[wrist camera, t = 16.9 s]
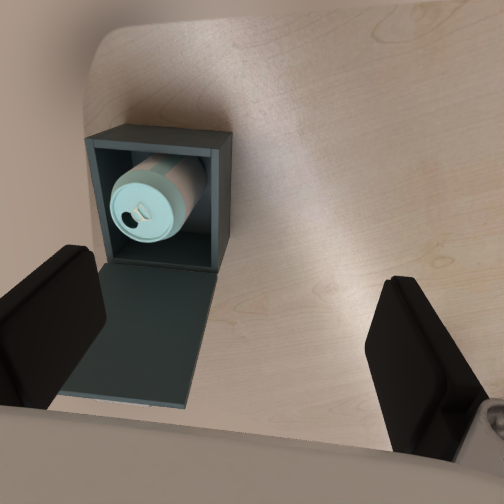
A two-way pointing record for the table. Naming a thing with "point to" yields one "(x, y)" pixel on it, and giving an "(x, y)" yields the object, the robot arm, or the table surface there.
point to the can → (157, 196)
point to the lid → (145, 337)
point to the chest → (201, 217)
